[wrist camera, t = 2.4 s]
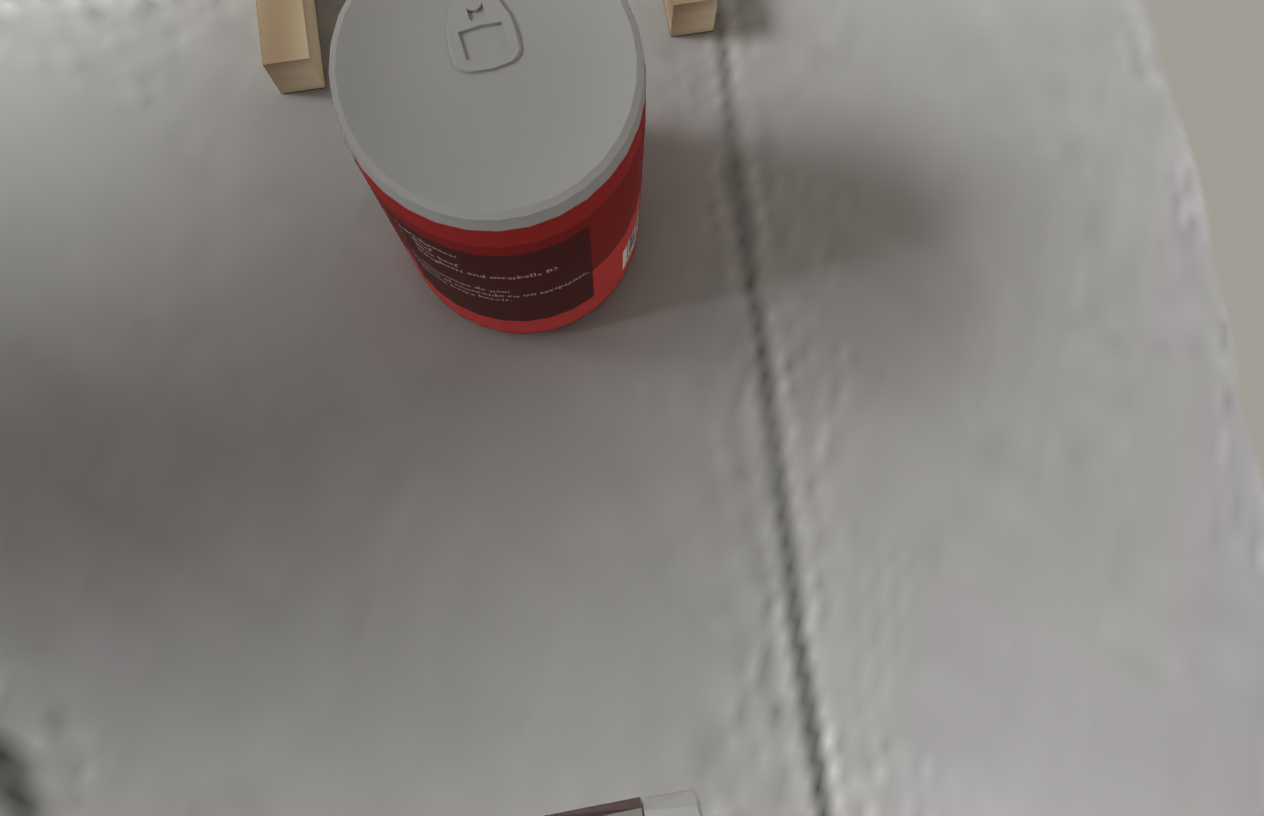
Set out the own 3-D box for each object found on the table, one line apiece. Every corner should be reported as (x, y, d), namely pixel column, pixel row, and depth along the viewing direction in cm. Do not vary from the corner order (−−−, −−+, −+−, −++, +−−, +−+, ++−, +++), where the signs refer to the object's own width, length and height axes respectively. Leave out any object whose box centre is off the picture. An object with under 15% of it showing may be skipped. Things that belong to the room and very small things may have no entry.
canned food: (563, 76, 38) (541, -139, 27) (684, 267, 37) (711, 120, 26) (366, 184, 37) (264, 5, 27) (483, 383, 36) (426, 280, 25)
